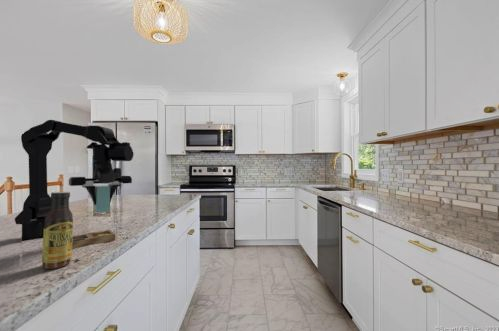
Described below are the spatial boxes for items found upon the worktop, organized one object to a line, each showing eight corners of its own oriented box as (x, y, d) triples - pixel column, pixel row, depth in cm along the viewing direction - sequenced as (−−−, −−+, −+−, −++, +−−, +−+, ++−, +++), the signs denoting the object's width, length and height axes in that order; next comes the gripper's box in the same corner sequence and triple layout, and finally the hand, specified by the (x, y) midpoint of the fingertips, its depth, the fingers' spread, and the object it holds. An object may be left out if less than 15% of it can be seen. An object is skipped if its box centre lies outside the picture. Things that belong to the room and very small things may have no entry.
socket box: (65, 250, 73) (66, 241, 73) (62, 244, 79) (63, 236, 79) (115, 241, 83) (115, 233, 83) (109, 236, 89) (109, 228, 89)
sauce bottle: (46, 272, 58) (47, 194, 58) (37, 267, 62) (38, 192, 62) (77, 263, 64) (77, 191, 64) (67, 258, 67) (68, 190, 67)
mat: (84, 238, 85) (84, 237, 85) (81, 234, 90) (81, 233, 90) (106, 235, 90) (106, 234, 90) (101, 231, 95) (101, 230, 95)
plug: (96, 212, 81) (96, 187, 81) (94, 211, 84) (94, 186, 84) (109, 211, 84) (109, 186, 84) (106, 209, 87) (106, 185, 87)
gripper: (74, 160, 72) (73, 210, 72) (137, 161, 85) (136, 203, 85) (68, 161, 80) (68, 206, 80) (127, 161, 93) (126, 200, 93)
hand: (102, 204), depth 84 cm, fingers closed on plug, 4 cm apart
